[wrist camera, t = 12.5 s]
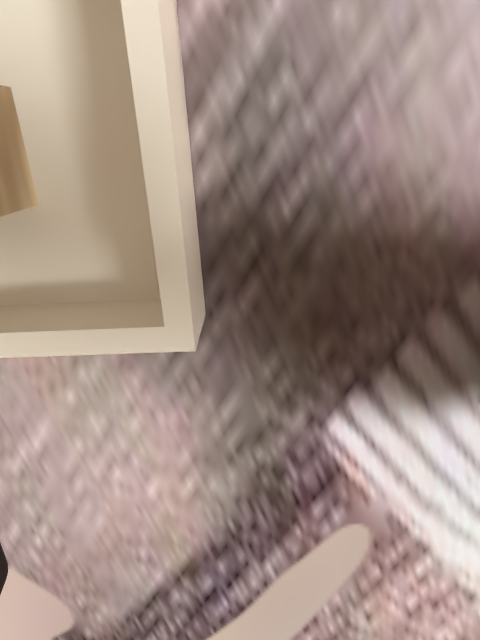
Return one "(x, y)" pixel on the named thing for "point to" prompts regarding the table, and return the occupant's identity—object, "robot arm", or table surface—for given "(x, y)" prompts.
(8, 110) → the strut
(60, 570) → the table surface
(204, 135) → the table surface
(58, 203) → the rectangular frame
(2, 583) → the robot arm
